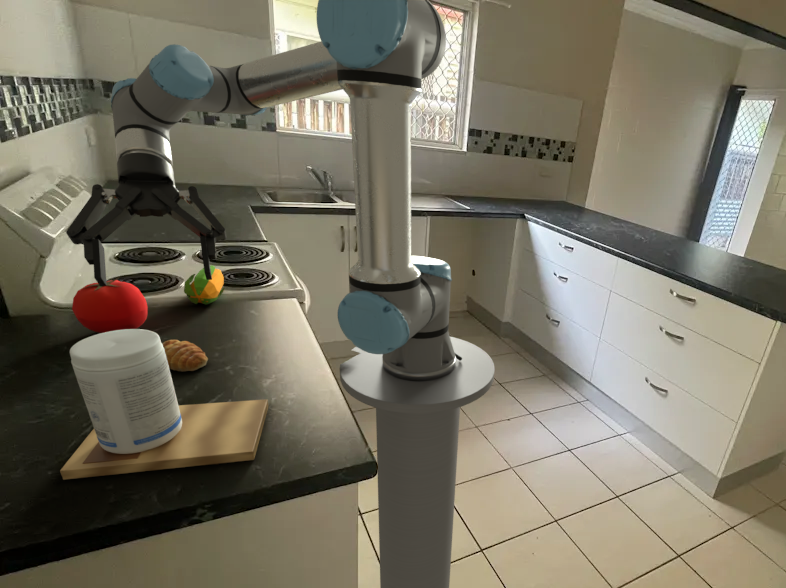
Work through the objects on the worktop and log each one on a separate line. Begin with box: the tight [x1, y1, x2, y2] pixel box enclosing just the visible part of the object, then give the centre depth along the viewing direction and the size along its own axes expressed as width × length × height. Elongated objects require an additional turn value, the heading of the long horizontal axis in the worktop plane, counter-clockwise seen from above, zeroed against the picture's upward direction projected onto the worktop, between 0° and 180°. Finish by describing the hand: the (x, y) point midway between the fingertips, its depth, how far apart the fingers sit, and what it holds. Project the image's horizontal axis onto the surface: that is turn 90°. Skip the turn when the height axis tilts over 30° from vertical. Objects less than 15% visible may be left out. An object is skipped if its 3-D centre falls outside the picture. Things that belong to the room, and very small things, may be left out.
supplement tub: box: [69, 328, 182, 454], centre depth 64 cm, size 10×10×15 cm
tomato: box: [71, 275, 149, 334], centre depth 96 cm, size 12×12×11 cm
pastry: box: [161, 339, 209, 373], centre depth 88 cm, size 9×7×4 cm
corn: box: [183, 264, 225, 306], centre depth 119 cm, size 7×8×20 cm
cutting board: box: [59, 398, 270, 481], centre depth 69 cm, size 22×14×2 cm, turn 107°
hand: (156, 279), depth 73 cm, fingers open, 13 cm apart
